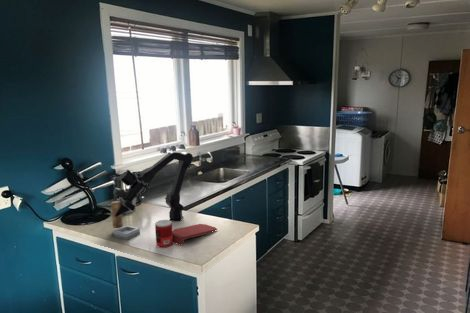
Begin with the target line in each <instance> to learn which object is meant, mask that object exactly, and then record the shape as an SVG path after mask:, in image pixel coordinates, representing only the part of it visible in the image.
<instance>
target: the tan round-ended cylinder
mask: <svg viewBox="0 0 470 313" xmlns="http://www.w3.org/2000/svg"><path fill="white" fill-rule="evenodd" d="M120 203H121V201H116V200H115V201H112V202H110V206H111V207H110V208H111V209H110V210H111V220H112V228H114V229H119V228H121V227H124V224H123V223H124V222H123V214H121V215H119V216H117V217H116V216H115V214H116V213H117V211H118V209H119V208H120Z"/></svg>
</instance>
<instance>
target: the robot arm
mask: <svg viewBox="0 0 470 313" xmlns="http://www.w3.org/2000/svg"><path fill="white" fill-rule="evenodd" d="M174 160H176V161H178V167H177V168H178V169H177V172H176V175H175V177H174V178H175V179H174V182H173V185H172V189H171V191H170V192H167V193H166V196H165V198H164V200H165V204H166V205H167V206H168V207H169V212H168V215H169V220H170V221H171V222H173V221H174V222H181V221H182V220H183V219H184V216H183V210H184V207H185V206H184V205H182V204H181V203H180V201H181V189H182V186H183V183H184V180H185V176H186V174H187V170H188V168H189V167H190V166H191V165H192V162H193V160H194V156H193V154H192V153H190V152H187V151H182V152H178V151H177V152H176V151H175V152H174V151H169V152H168V153H167V154H165V156H163V157H162V158H161V159H159V160H157V162H155V163H154V164H152V165H151V166H150V167H147V168H144V169H143V170H141V171H140V172H139V173H135V174H133V173H132V172H131V170H129V169H126V170H125V171H124V172H122V173H121V174H120V176H119V178H118V180H119V181H120V182H122V183H123V184H124V185H125V186H127V187H128V188H126V189H124V188H123V189H122V188H118V187H115V188H114V190H113V191H112V192H113V193H112V194H113V195H114V197H115V201H121V203H120V208H119V209H118V211H117V213H116V214H115V216H116V217H117V216H119V215H121V214H122V215H123V214H126V213H125V212H127V211H130V209H131V210H132V211H134V209H135V206H136V204H135V205H134V204H132V203H133V202H132V201H133V200H134V199H135V197H136V199H137V198H138V197H139V194H140V192H142V190H143V189H145V190H148V183H151V182H152V181H153V179H155V177H156V175H158V173H159V172H160V171H161V170H163V169H164V168H166V166H167V165H169V164H170V163H172V162H173V161H174ZM134 212H135V211H134ZM181 219H182V220H181Z"/></svg>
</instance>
